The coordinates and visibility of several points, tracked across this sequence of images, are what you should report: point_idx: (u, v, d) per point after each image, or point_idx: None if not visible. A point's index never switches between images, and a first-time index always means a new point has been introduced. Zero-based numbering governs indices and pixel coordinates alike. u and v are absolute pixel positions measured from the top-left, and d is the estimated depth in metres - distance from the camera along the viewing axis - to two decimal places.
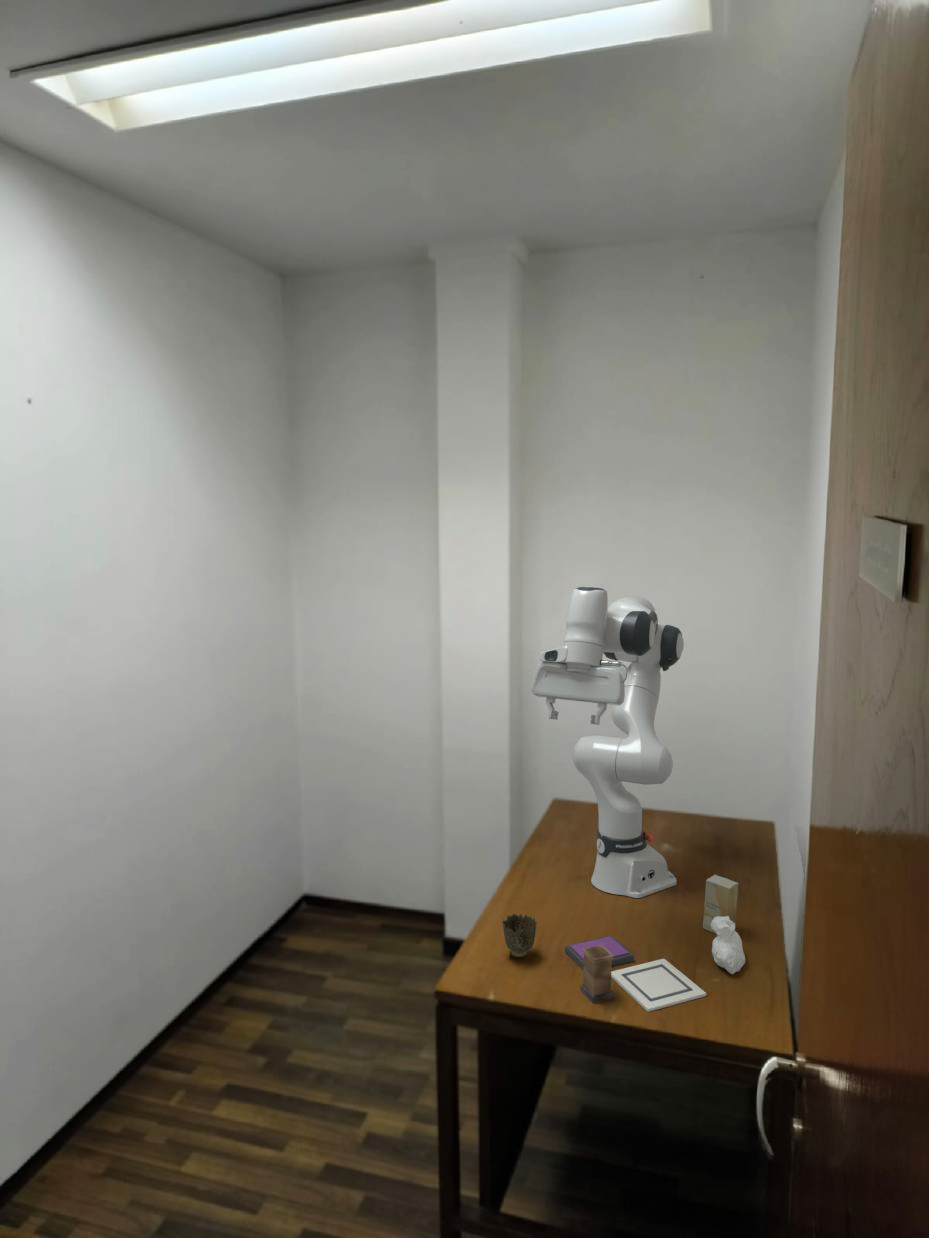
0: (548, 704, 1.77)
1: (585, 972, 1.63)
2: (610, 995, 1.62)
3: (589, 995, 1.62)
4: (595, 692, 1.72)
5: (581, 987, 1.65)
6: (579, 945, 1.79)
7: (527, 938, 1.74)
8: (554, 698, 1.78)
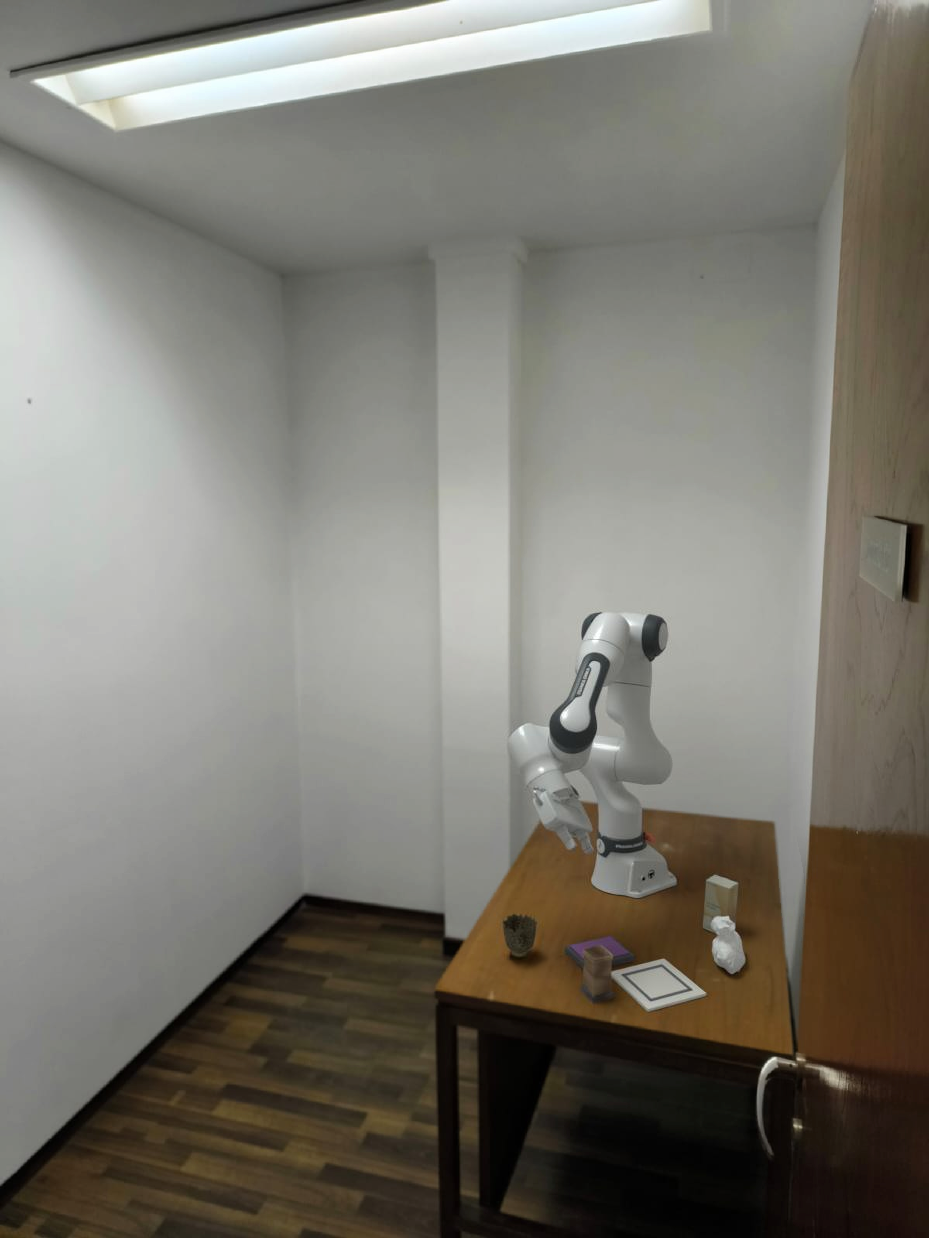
0: None
1: (585, 972, 1.63)
2: (610, 995, 1.62)
3: (589, 995, 1.62)
4: None
5: (581, 987, 1.65)
6: (579, 945, 1.79)
7: (527, 938, 1.74)
8: (581, 832, 1.73)
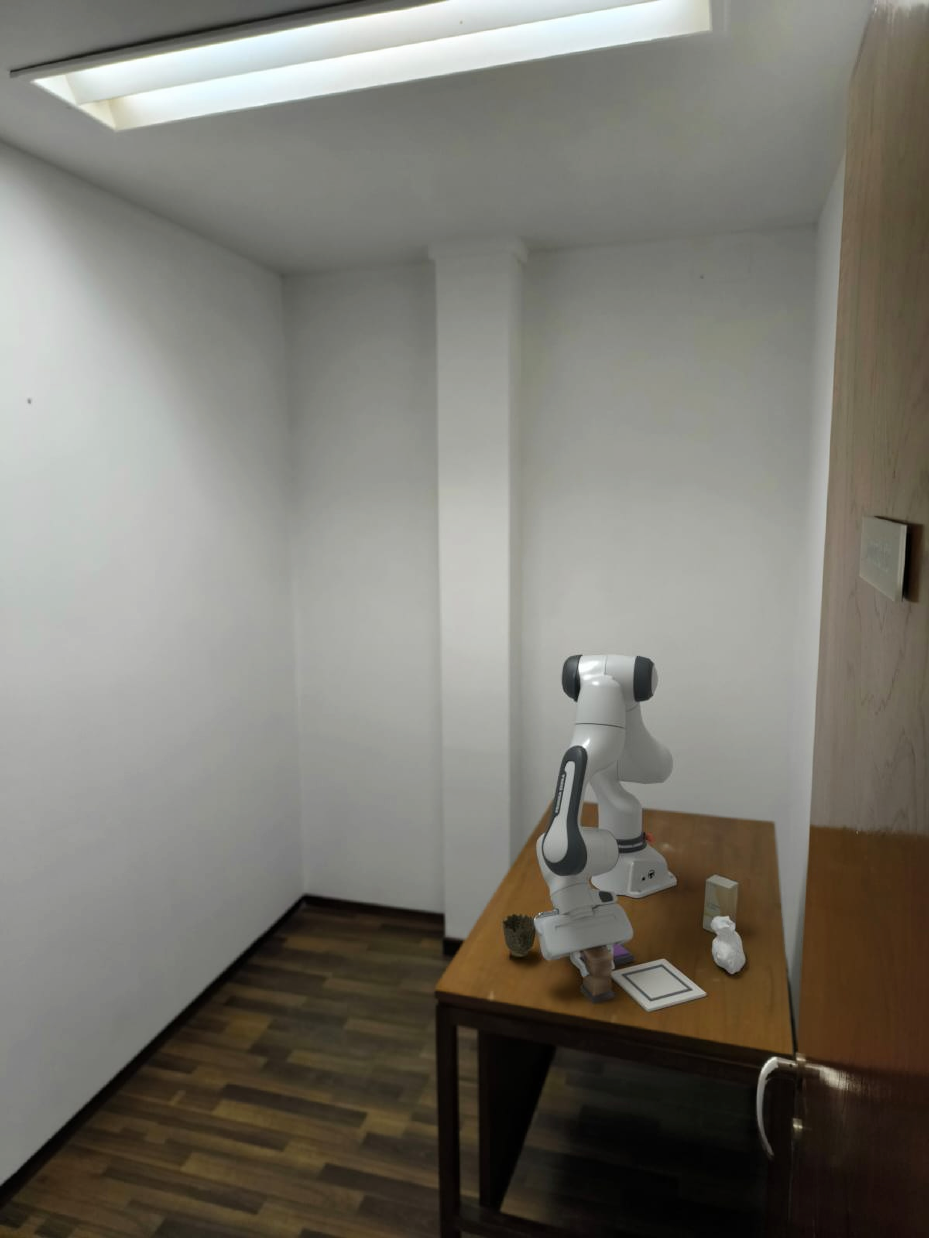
0: None
1: None
2: (610, 995, 1.62)
3: (589, 995, 1.62)
4: None
5: (581, 987, 1.65)
6: None
7: (527, 938, 1.74)
8: (604, 946, 1.66)
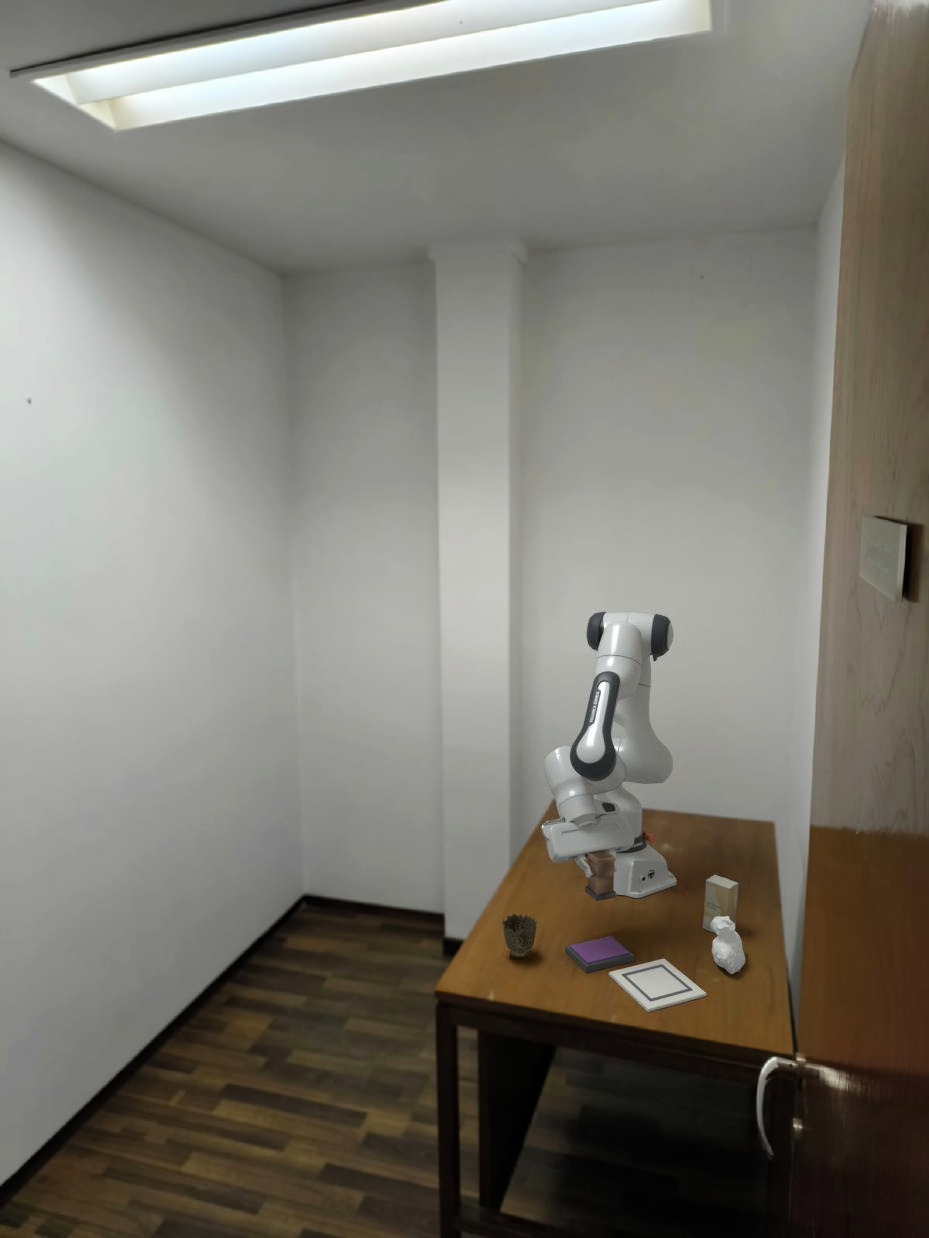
0: None
1: None
2: (613, 894, 1.74)
3: (593, 894, 1.74)
4: None
5: (586, 888, 1.77)
6: (579, 945, 1.79)
7: (527, 938, 1.74)
8: (607, 851, 1.78)
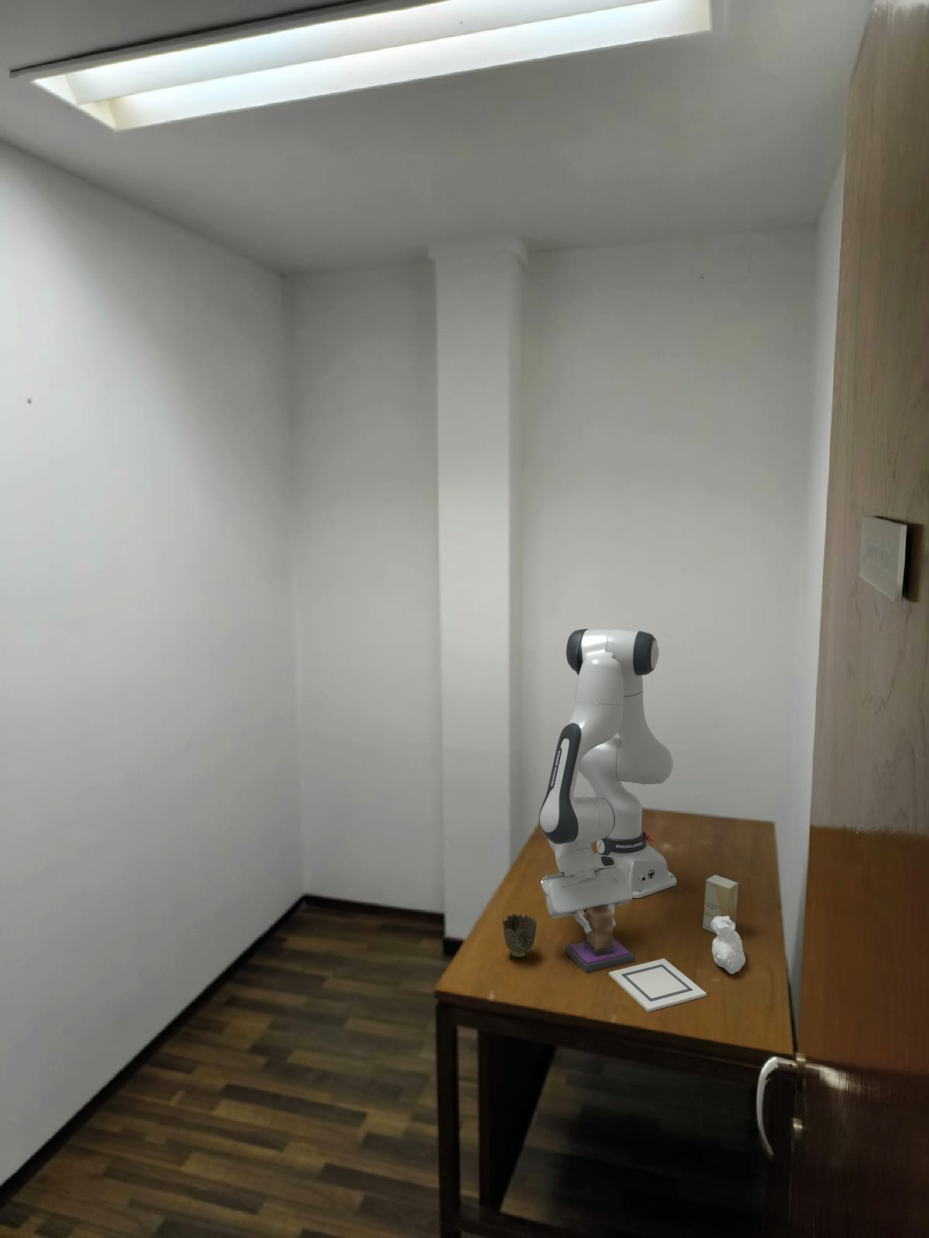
0: None
1: None
2: (611, 949, 1.76)
3: (592, 949, 1.76)
4: None
5: (584, 943, 1.78)
6: (579, 945, 1.79)
7: (527, 938, 1.74)
8: (606, 906, 1.80)
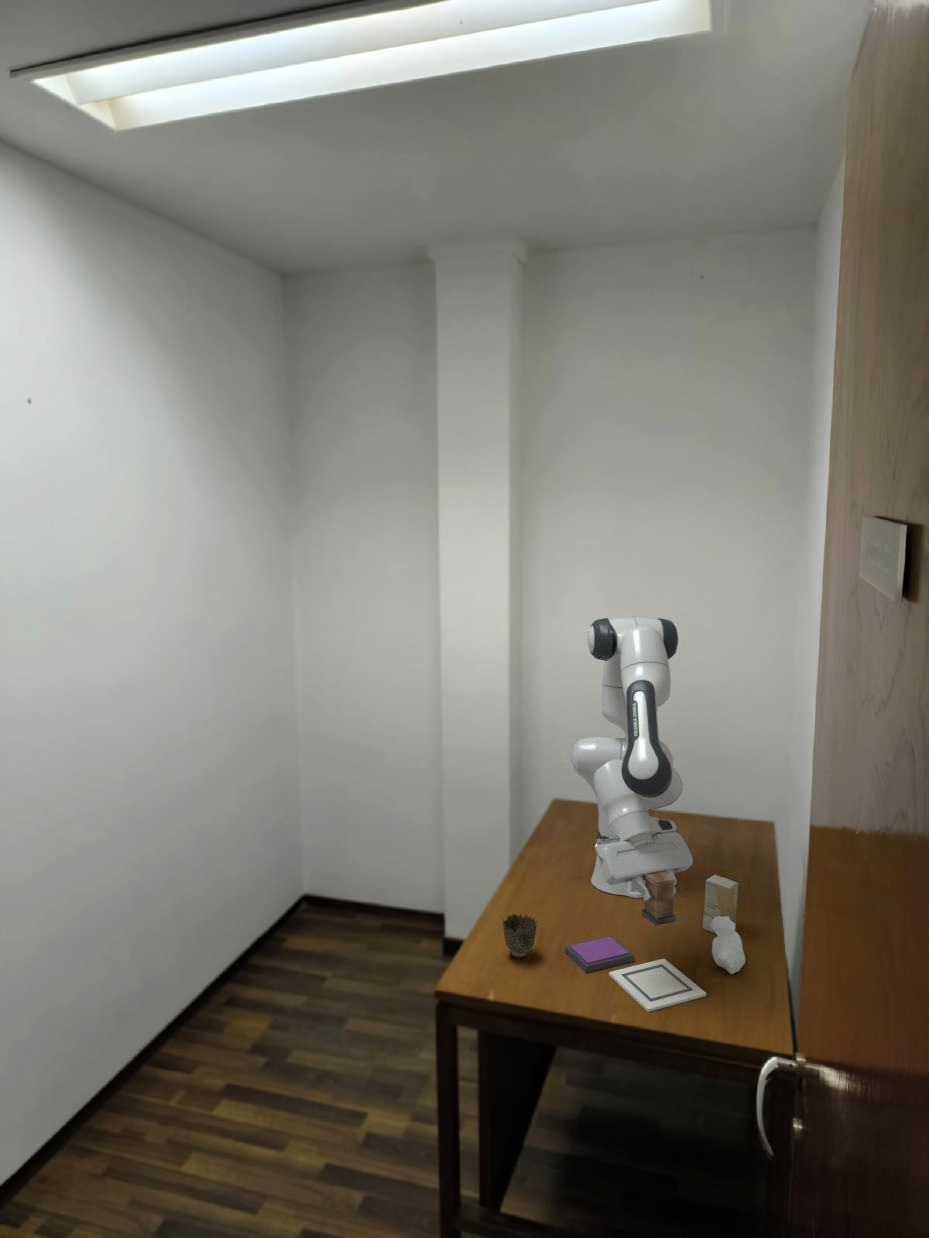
0: None
1: None
2: (672, 918, 1.63)
3: (651, 918, 1.63)
4: None
5: (642, 911, 1.66)
6: (579, 945, 1.79)
7: (527, 938, 1.74)
8: None
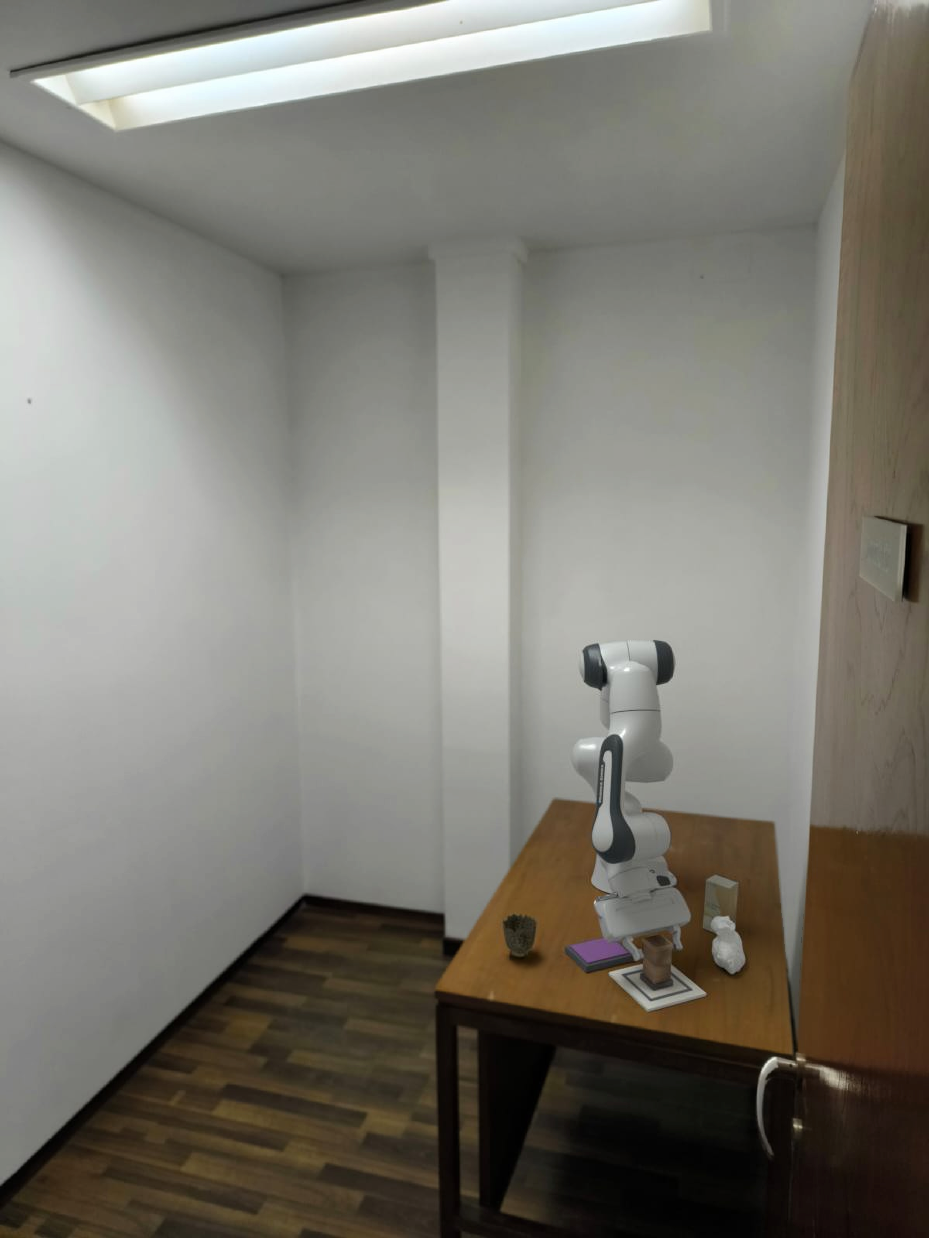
0: None
1: (645, 961, 1.67)
2: (670, 983, 1.65)
3: (649, 983, 1.65)
4: None
5: (641, 975, 1.68)
6: (579, 945, 1.79)
7: (527, 938, 1.74)
8: (671, 927, 1.70)
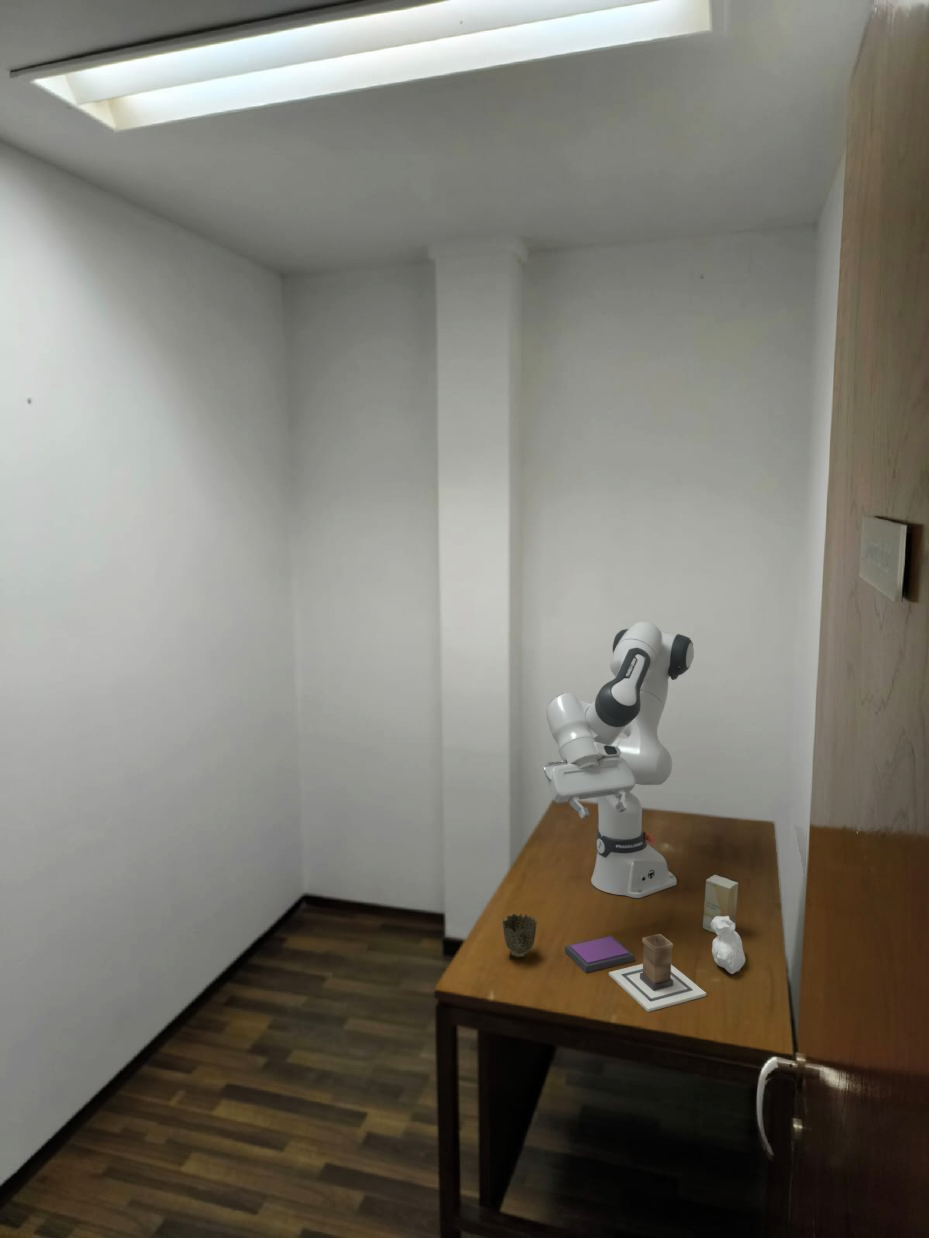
0: None
1: (645, 961, 1.67)
2: (670, 983, 1.65)
3: (649, 983, 1.65)
4: None
5: (641, 975, 1.68)
6: (579, 945, 1.79)
7: (527, 938, 1.74)
8: (617, 791, 1.81)
